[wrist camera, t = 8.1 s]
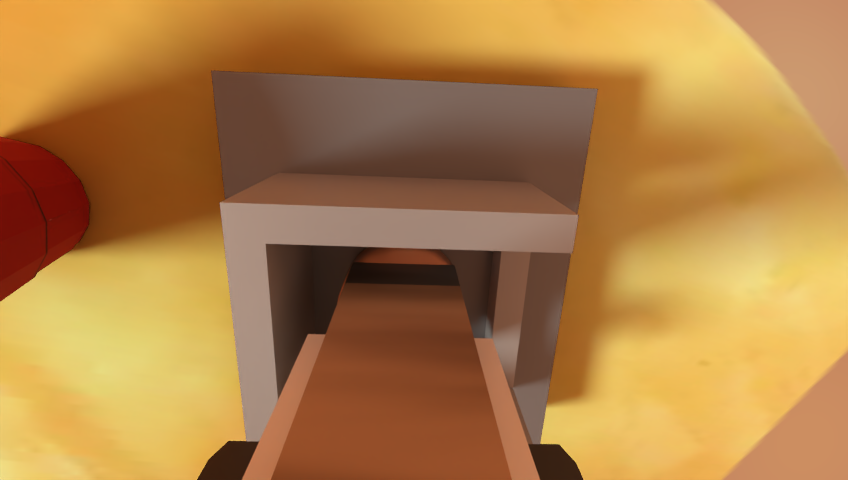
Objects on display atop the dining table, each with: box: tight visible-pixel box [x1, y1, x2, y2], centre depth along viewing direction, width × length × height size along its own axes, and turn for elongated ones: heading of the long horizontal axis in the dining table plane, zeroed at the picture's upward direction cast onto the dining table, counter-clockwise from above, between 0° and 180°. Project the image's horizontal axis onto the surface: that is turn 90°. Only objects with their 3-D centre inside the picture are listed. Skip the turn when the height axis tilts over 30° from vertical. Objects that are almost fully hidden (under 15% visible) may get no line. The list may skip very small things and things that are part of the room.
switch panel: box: [211, 71, 598, 444], centre depth 18 cm, size 18×15×8 cm
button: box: [337, 247, 452, 303], centre depth 18 cm, size 5×5×2 cm
